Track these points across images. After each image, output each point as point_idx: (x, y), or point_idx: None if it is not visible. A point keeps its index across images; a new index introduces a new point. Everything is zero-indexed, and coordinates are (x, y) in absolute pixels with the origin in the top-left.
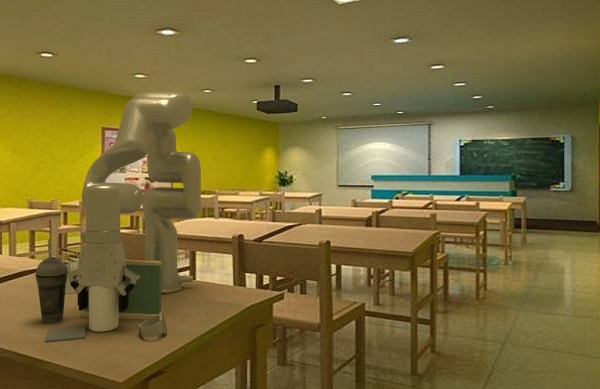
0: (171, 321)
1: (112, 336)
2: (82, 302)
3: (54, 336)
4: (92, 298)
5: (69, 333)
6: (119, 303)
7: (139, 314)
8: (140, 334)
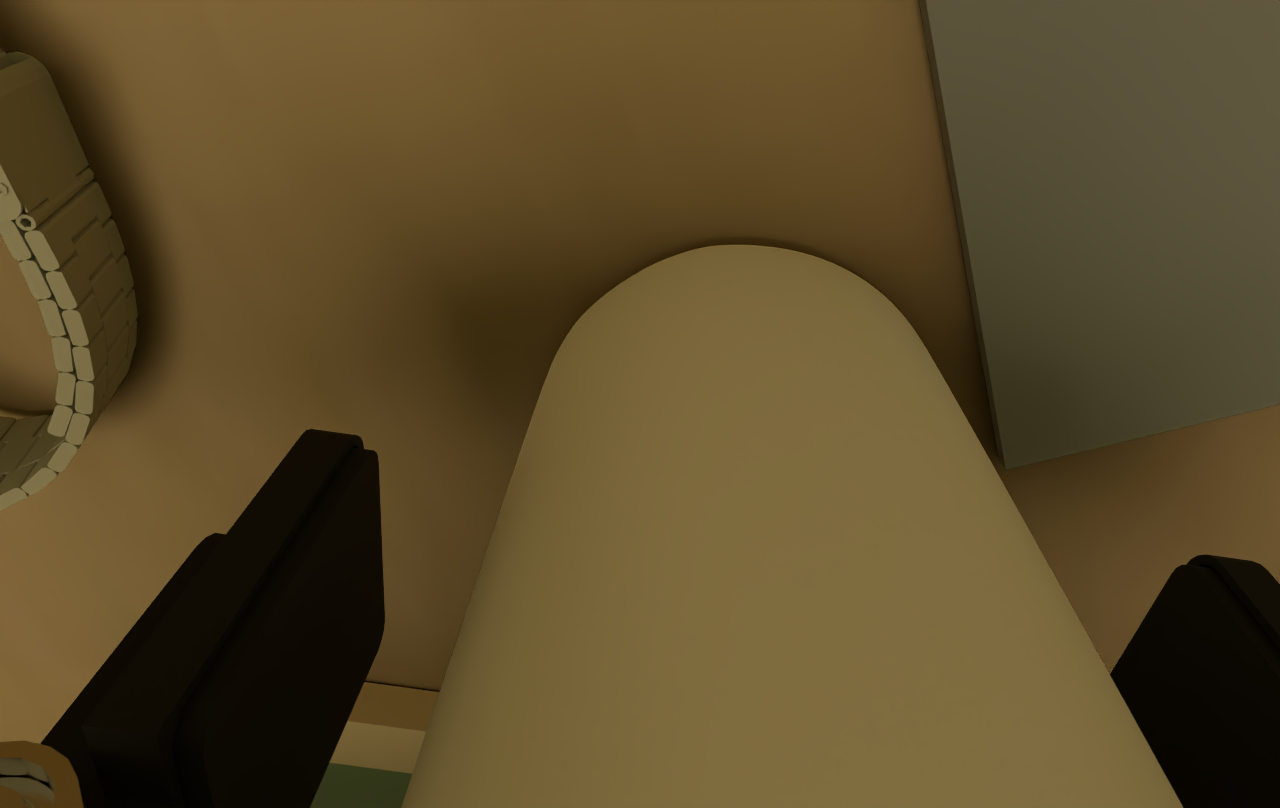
0: (13, 616)
1: (477, 56)
2: (1264, 706)
3: None
4: (1043, 668)
5: (1218, 115)
6: (266, 551)
7: (411, 749)
8: (19, 64)
